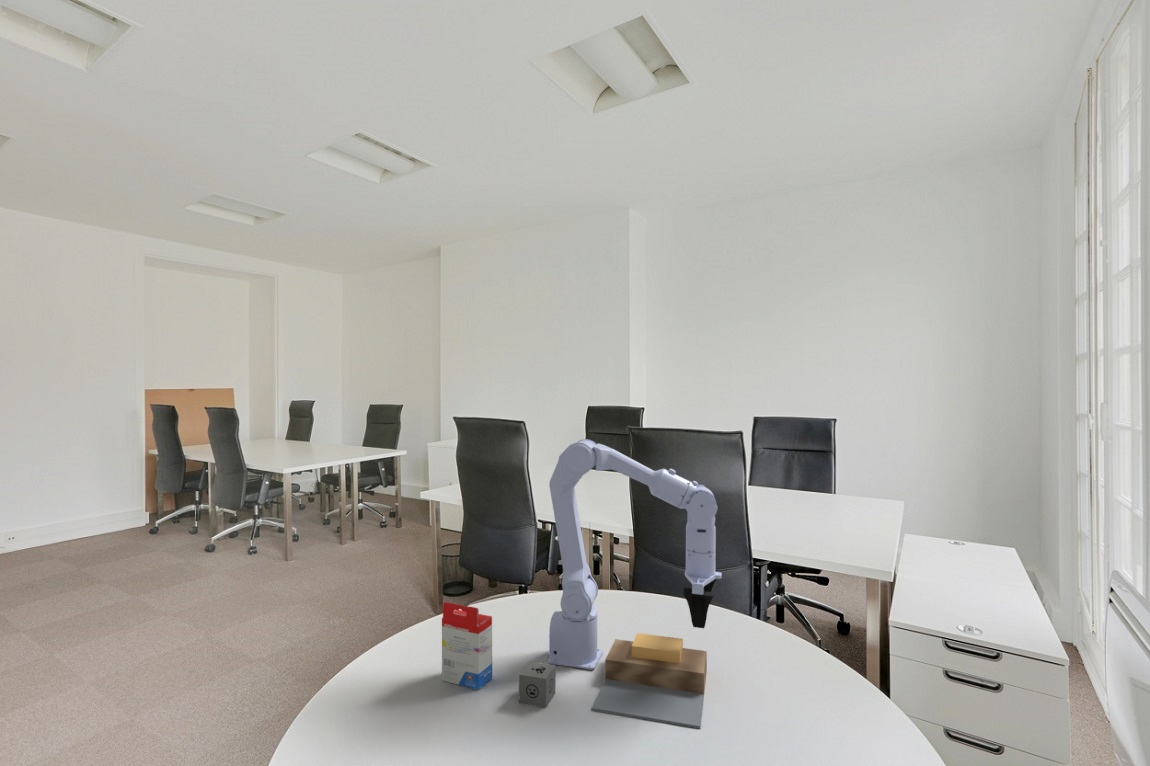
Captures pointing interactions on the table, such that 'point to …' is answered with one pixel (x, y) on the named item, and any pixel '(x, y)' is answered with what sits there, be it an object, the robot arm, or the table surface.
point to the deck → (657, 669)
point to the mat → (650, 703)
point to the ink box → (466, 646)
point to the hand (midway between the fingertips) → (700, 619)
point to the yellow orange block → (657, 648)
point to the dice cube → (537, 684)
